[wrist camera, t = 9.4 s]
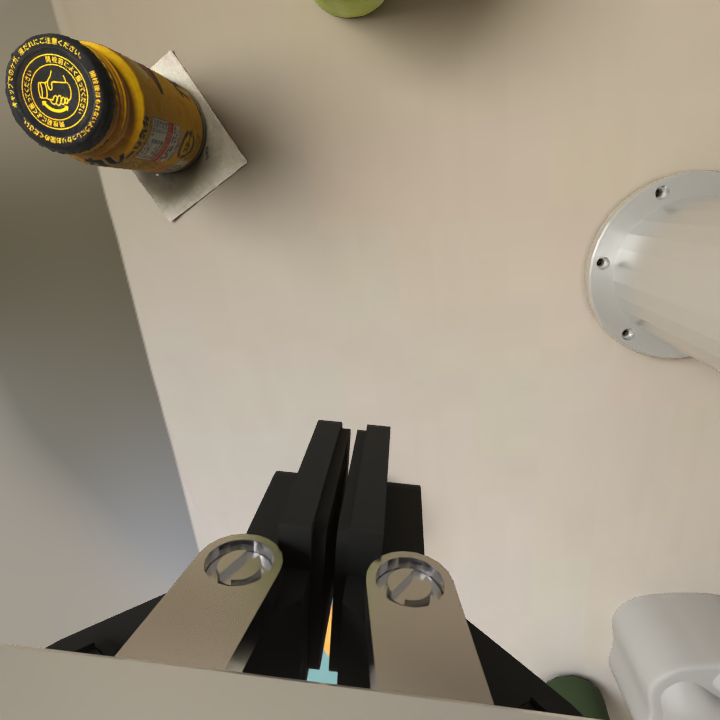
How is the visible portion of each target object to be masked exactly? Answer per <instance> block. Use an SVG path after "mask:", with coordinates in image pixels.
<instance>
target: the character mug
mask: <svg viewBox="0 0 720 720" xmlns="http://www.w3.org/2000/svg"><path fill="white" fill-rule="evenodd" d="M546 684H547V685H549V686H550V687H551V688H552V689H554V690H555V691H556V692H557V693H559V694H560V695H561V696H562V697H563V698H565V699H566V700H567V701H568V702H570V703H571V704H572V705H573V706H574V707H575V708H576V709H577V710H578V711H579V712H580V713H581V714H582V715H583V716H584V717H585V718H593V719H600V720H610V718H609V715H608V712H607V708H606V705H605V701H604V699H603V697H602V694H601V692H600V690H599V689H598V688H596V687H595V686H594V685H593V684H591V683H590V682H589V681H587V680H584V679H581V678H578V677H575V676H564V677H556V678H554V679H553V680H551V681H549V682H547V683H546Z"/></svg>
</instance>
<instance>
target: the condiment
mask: <svg viewBox="0 0 720 720" xmlns="http://www.w3.org/2000/svg"><path fill="white" fill-rule="evenodd" d="M5 91H6V95H7V99H8V102H9V105H10V108H11V111H12V114H13V116H14V118H15V120H16V122H17V123H18V124H19V125H20V126H21V127H22V129H23V130H24V131H25V132H26V133H27V134H28V136H29V137H30V138H32V139H33V140H34V141H36V142H37V143H38V144H39V145H40V146H42V147H46V148H48V149H49V150H51V151H53V152H55V151H57V152H58V153H61V154H68V155H70V156H71V157H73V158H74V159H76V160H78V161H80V162H83V163H86V164H90V165H96V166H103V167H113V168H122V169H130V170H132V171H133V172H134V173H135V175H136V176H137V178H138V180H139V181H140V182H141V183H142V185H143V186H144V187H145V189H146V190H147V192H148V193H149V194H150V195H151V197H152V198H153V199H154V201H155V202H156V204H157V205H158V207H159V208H160V210H161V211H162V212H163V214H164V215H165V216H166V218H167V219H168V220H169V222H171V221H172V220H174V219H175V218H176V217H177V216H179V215H180V214H182V213H183V212H184V211H186V210H187V209H188V208H190V207H191V206H192V205H193V204H195V203H196V202H198V201H199V200H200V199H201V198H203V197H204V196H205V195H206V194H208V193H209V192H210V191H212V190H213V189H214V188H215V187H217V186H218V185H219V184H220V183H222V182H223V181H224V180H225V179H227V178H228V177H229V176H231V175H232V174H233V173H234V172H236V171H237V170H238V169H239V168H241V167H242V166H243V165H245V164H246V163H247V161H246V159H245V158H244V156H243V155H242V154H241V152H240V151H239V149H238V148H237V146H236V144H235V143H234V142H233V140H232V139H231V138H230V136H229V135H228V133H227V132H226V130H225V129H224V127H223V126H222V124H221V123H220V121H219V120H218V118H217V117H216V115H215V114H214V112H213V111H212V109H211V108H210V106H209V105H208V103H207V102H206V100H205V99H204V97H203V96H202V94H201V93H200V92H199V90H198V89H197V87H196V86H195V84H194V83H193V81H192V80H191V78H190V77H189V75H188V74H187V72H186V71H185V70H184V68H183V67H182V65H181V64H180V62H179V61H178V59H177V58H176V56H175V55H174V54H173V52H172V51H171V50H170V51H169V52H168V53H167V54H166V55H164V57H162V58H161V59H160V60H159V61H158V62H157V63H156V64H155V65H154V66H152V67H151V69H149V68H146V67H145V66H144V65H142V64H140V63H137V62H135V61H133V60H131V59H129V58H128V57H126V56H123V55H122V54H120V53H118V52H116V51H114V50H112V49H110V48H107V47H105V46H103V45H100V44H95V43H92V42H87V41H78V40H74V39H71V38H70V37H68V36H64V35H60V34H51V33H48V34H40V35H36V36H33V37H31V38H29V39H28V40H26V41H25V42H24V43H23V44H22V45H20V46H19V47H18V48H17V49H16V50H15V52H13V53H12V54H11V60H10V62H9V63H8V66H7V70H6V89H5ZM207 146H208V152H206V151H205V149H206V147H207ZM206 153H208V156H209V158H208V159H206V156H205V155H206ZM157 173H158V174H159V176H156V175H155V174H157Z"/></svg>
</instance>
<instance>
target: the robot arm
mask: <svg viewBox="0 0 720 720" xmlns="http://www.w3.org/2000/svg"><path fill="white" fill-rule="evenodd" d="M657 189H658V190H659V195H658V196H657V197H656V196H655V192H656V190H657ZM600 258H601V260H602V263H601V264H600V265H598V266H597V264H596V263H597V261H598V259H600ZM585 286H586V293H587V299H588V302H589V305H590V307H591V310H592V313H593V315H594V316H595V318H596V319H597V321H598V322H599V324H600V326H601V327H602V328H603V329H604V330H605V331H606V332H607V333H608V334H609V335H610V336H611V337H612V338H613V339H615V340H616V341H618V342H619V343H621V344H622V345H624V346H626V347H628V348H630V349H632V350H634V351H636V352H638V353H641V354H645V355H648V356H652V357H659V358H670V359H672V358H684V357H693V358H695V359H696V360H698V361H700V362H702V363H704V364H705V365H707V366H709V367H711V368H713V369H715V370H716V371H718V372H720V172H717V171H690V172H683V173H676V174H673V175H670V176H666V177H663V178H660V179H657V180H655V181H653V182H651V183H649V184H647V185H645V186H643V187H641V188H639V189H638V190H636V191H635V192H634V193H632V194H631V195H630V196H628V197H627V198H626V199H624V200H623V201H622V202H621V203H620V204H619V205H618V206H617V207H616V208H615V209H614V210H613V211H612V212H611V213H610V214H609V216H608V217H607V219H606V220H605V222H604V223H603V224H602V226H601V227H600V229H599V230H598V232H597V234H596V236H595V239H594V241H593V243H592V245H591V247H590V251H589V255H588V259H587V263H586V272H585ZM625 329H626V333H625V334H622V333H623V331H624V330H625ZM350 434H351V430H350V429H343V428H342V422H335V421H324V420H319V421H318V423H317V425H316V428H315V430H314V433H313V435H312V438H311V441H310V443H309V446H308V448H307V451H306V453H305V456H304V458H303V461H302V464H301V466H300V469H299V471H298V473H293V472H283V471H276V473H275V474H274V476H273V478H272V480H271V482H270V485H269V487H268V489H267V491H266V493H265V495H264V497H263V499H262V501H261V504H260V506H259V508H258V510H257V512H256V514H255V516H254V518H253V520H252V523H251V525H250V527H249V529H248V531H247V533H246V534H237V535H230V536H227V537H224V538H220V539H218V540H216V541H214V542H213V543H211V544H209V545H208V546H207V547H205V548H204V549H203V550H202V551H201V552H200V553H199V554H198V555H197V557H196V558H195V559H194V560H193V562H192V563H191V564H190V566H188V568H187V569H186V570H185V571H184V572H183V574H182V575H181V576H180V577H179V579H178V580H177V581H176V582H175V583H174V585H173V586H172V587H171V588H170V589H169V591H168V592H167V593H166V594H163V595H162V596H159V597H157V598H154V599H152V600H150V601H148V602H145V603H143V604H141V605H139V606H136V607H134V608H132V609H129V610H127V611H125V612H123V613H120V614H118V615H116V616H113V617H111V618H109V619H106V620H104V621H102V622H100V623H97V624H95V625H93V626H91V627H88V628H86V629H84V630H81V631H79V632H77V633H75V634H72V635H70V636H68V637H66V638H64V639H61V640H59V641H57V642H55V643H54V644H52V645H50V646H48V647H46V648H37V647H29V646H20V645H13V644H4V643H0V720H600V719H593V718H585V717H584V716H583V715H582V714H581V713H580V712H579V711H578V710H577V709H576V708H575V707H574V706H573V705H572V704H571V703H570V702H568V701H567V700H566V699H565V698H563V697H562V696H561V695H560V694H559V693H557V692H556V691H555V690H554V689H552V688H551V687H550V686H549V685H547V684H546V683H545V682H544V681H542V680H541V679H540V678H539V677H537V676H536V675H535V674H534V673H532V672H531V671H530V670H529V669H528V668H526V667H525V666H524V665H523V664H521V663H520V662H519V661H518V660H516V659H515V658H514V657H513V656H511V655H510V654H509V653H508V652H506V651H505V650H504V649H503V648H501V647H500V646H499V645H498V644H497V643H495V642H494V641H493V640H492V639H490V638H489V637H488V636H487V635H485V634H484V633H483V632H482V631H480V630H479V629H478V628H477V627H475V626H474V625H473V624H472V623H470V622H469V621H468V620H467V619H466V618H465V615H464V612H463V609H462V606H461V603H460V600H459V597H458V594H457V591H456V588H455V585H454V582H453V580H452V578H451V576H450V574H449V572H448V571H447V570H446V569H445V568H444V567H443V566H442V565H441V564H440V563H439V562H437V561H435V560H433V559H432V558H430V557H428V556H425V555H424V539H423V521H422V503H421V487H420V485H410V484H401V483H391V482H387V474H388V458H389V442H390V427H387V426H377V425H367V430H366V431H364V430H357V435H356V440H355V445H354V450H353V455H352V460H351V464H350V469H349V474H348V465H349V450H350ZM332 600H333V604H332ZM331 605H332V620H331V637H330V654H329V671H332V672H338V675H337V684H329V683H321V682H313V681H307V677H308V672H309V669H316V670H319V669H320V666H321V661H322V655H323V649H324V644H325V638H326V633H327V627H328V622H329V616H330V611H331Z"/></svg>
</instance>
